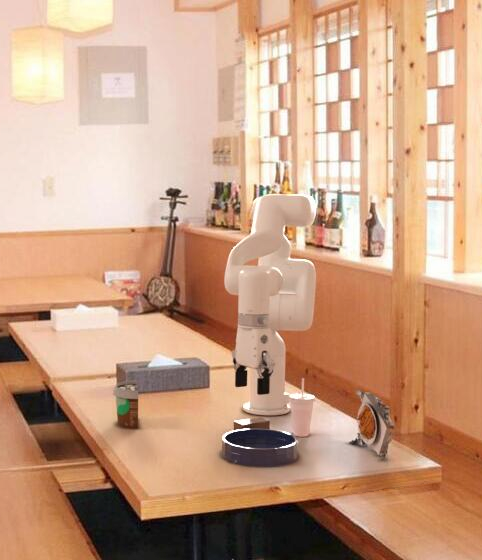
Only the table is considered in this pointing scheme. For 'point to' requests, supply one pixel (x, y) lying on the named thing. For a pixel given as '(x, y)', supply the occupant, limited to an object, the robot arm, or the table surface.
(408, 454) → the table surface
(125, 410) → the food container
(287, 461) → the bowl
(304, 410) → the smoothie
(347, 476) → the table surface
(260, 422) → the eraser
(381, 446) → the meal
